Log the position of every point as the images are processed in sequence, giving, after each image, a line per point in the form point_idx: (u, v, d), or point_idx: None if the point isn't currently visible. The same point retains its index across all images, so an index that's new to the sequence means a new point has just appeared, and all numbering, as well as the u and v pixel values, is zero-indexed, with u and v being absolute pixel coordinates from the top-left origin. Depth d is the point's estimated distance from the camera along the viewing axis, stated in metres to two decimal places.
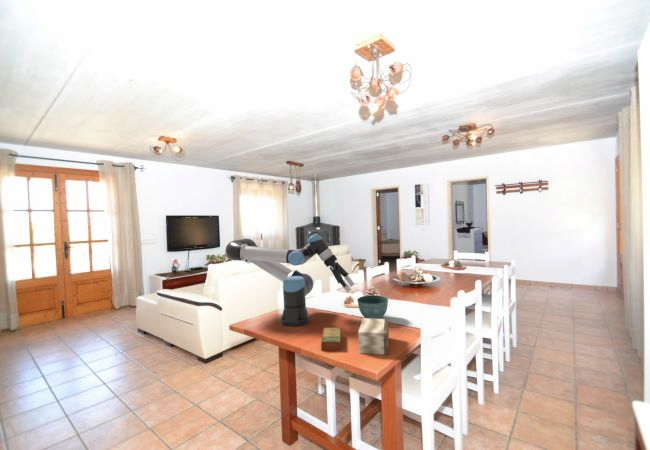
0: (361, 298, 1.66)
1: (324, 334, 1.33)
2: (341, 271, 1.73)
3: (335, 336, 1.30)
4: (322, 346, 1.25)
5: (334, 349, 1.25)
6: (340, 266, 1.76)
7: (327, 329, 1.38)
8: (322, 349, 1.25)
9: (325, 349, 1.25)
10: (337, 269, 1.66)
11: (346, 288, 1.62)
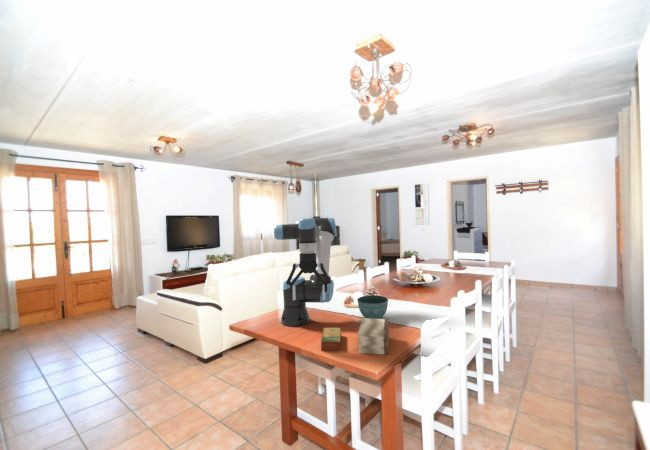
0: (361, 298, 1.66)
1: (324, 334, 1.33)
2: None
3: (335, 336, 1.30)
4: (322, 346, 1.25)
5: (334, 349, 1.25)
6: (321, 270, 1.35)
7: (327, 329, 1.38)
8: (322, 349, 1.25)
9: (325, 349, 1.25)
10: None
11: None
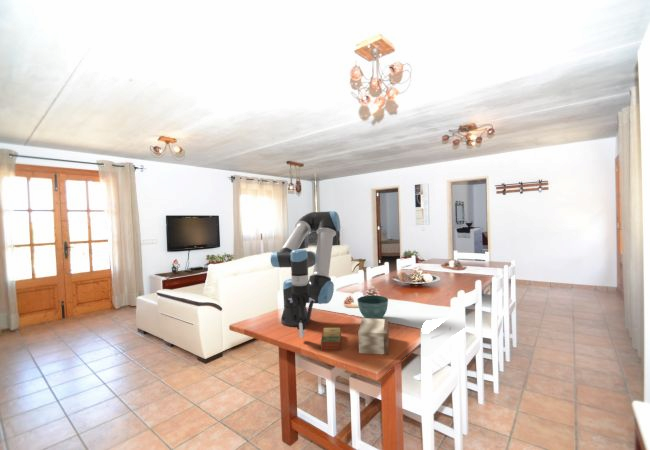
0: (361, 298, 1.66)
1: (324, 334, 1.33)
2: None
3: (335, 336, 1.30)
4: (322, 346, 1.25)
5: (334, 349, 1.25)
6: None
7: (327, 329, 1.38)
8: (322, 349, 1.25)
9: (325, 349, 1.25)
10: (296, 305, 1.35)
11: None
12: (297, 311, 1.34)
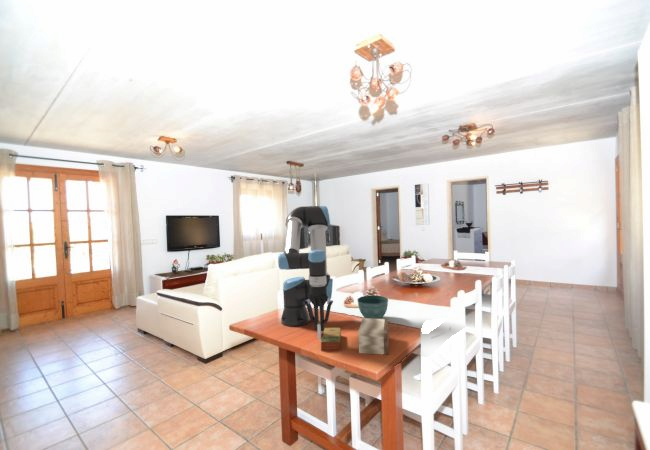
0: (361, 298, 1.66)
1: (324, 334, 1.33)
2: None
3: (335, 336, 1.30)
4: (322, 346, 1.25)
5: (334, 350, 1.25)
6: (327, 307, 1.31)
7: (327, 329, 1.38)
8: (322, 349, 1.25)
9: (325, 349, 1.25)
10: (314, 306, 1.33)
11: None
12: (315, 312, 1.32)
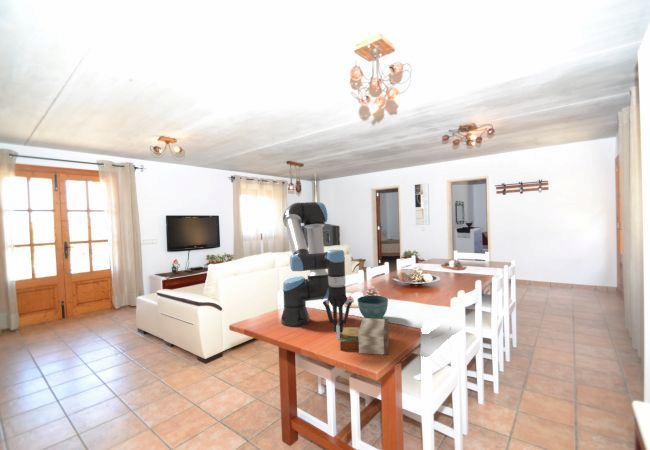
0: (361, 298, 1.66)
1: (343, 334, 1.32)
2: (339, 312, 1.31)
3: (354, 335, 1.30)
4: (341, 346, 1.24)
5: (353, 349, 1.24)
6: (346, 308, 1.29)
7: (345, 329, 1.38)
8: (341, 349, 1.24)
9: (344, 349, 1.24)
10: (333, 307, 1.31)
11: None
12: (334, 313, 1.31)
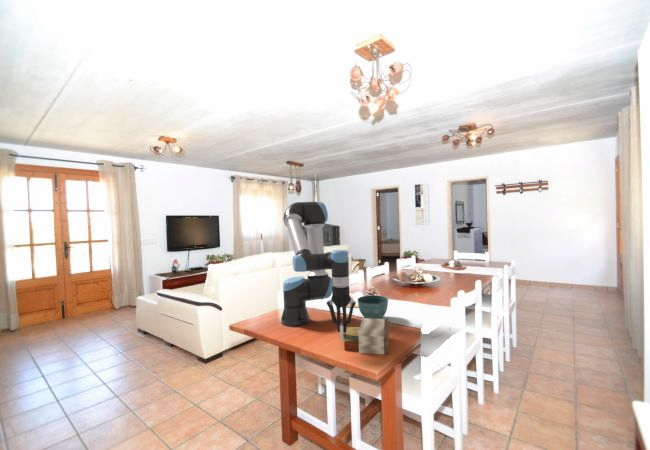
0: (361, 298, 1.66)
1: (346, 333, 1.32)
2: None
3: None
4: (345, 345, 1.24)
5: (357, 349, 1.24)
6: (350, 309, 1.29)
7: (349, 328, 1.37)
8: (345, 348, 1.24)
9: (348, 348, 1.24)
10: None
11: None
12: (338, 313, 1.30)
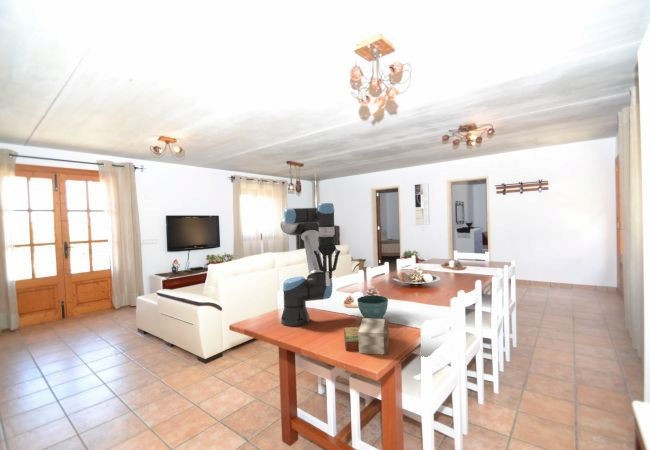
0: (361, 298, 1.66)
1: (346, 334, 1.32)
2: None
3: None
4: (347, 346, 1.24)
5: (358, 349, 1.24)
6: (335, 256, 1.40)
7: (348, 329, 1.37)
8: (347, 349, 1.24)
9: (350, 349, 1.24)
10: None
11: None
12: (324, 261, 1.41)
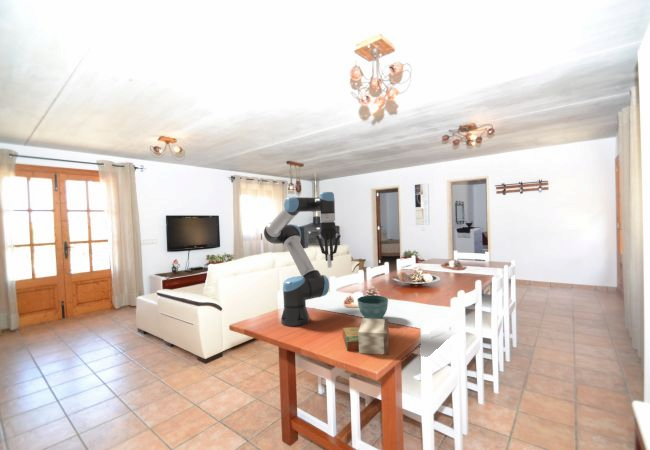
0: (361, 298, 1.66)
1: (346, 334, 1.32)
2: None
3: None
4: (348, 346, 1.24)
5: None
6: None
7: (347, 329, 1.37)
8: (348, 349, 1.24)
9: (351, 349, 1.24)
10: None
11: None
12: (325, 245, 1.56)
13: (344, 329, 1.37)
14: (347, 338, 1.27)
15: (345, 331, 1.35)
